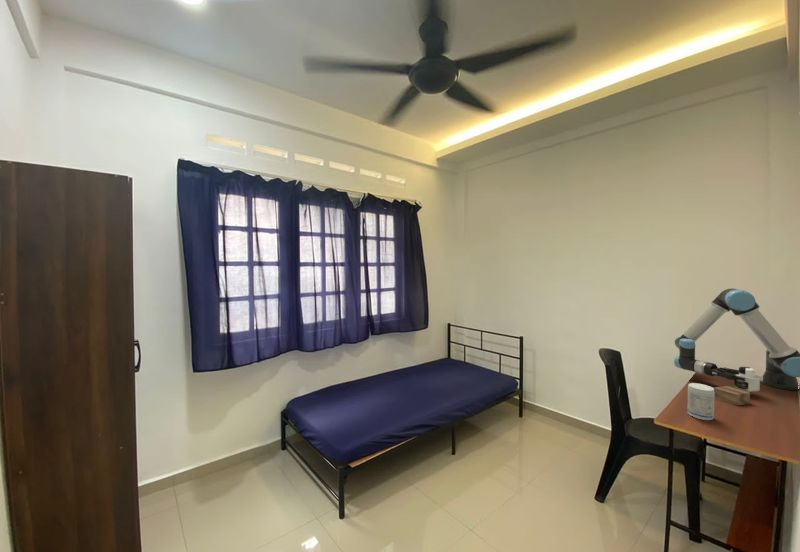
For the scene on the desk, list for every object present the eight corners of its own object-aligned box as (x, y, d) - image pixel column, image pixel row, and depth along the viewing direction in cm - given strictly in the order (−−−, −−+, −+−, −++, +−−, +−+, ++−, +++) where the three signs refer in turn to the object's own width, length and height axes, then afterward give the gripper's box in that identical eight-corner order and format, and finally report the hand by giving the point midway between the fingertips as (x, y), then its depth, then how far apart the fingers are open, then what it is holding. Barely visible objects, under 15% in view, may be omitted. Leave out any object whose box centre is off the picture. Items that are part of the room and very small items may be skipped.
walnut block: (727, 396, 181) (727, 385, 180) (749, 404, 171) (750, 392, 171) (713, 398, 179) (713, 387, 178) (735, 406, 169) (735, 394, 169)
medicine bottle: (733, 386, 185) (733, 366, 184) (745, 386, 185) (745, 365, 185) (748, 391, 177) (748, 370, 177) (759, 391, 178) (760, 369, 178)
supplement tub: (689, 410, 164) (690, 381, 164) (715, 416, 157) (716, 386, 156) (685, 415, 158) (686, 386, 158) (712, 423, 151) (713, 392, 150)
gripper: (715, 371, 202) (767, 383, 181) (696, 377, 194) (748, 390, 173) (715, 359, 202) (767, 370, 181) (696, 364, 193) (748, 376, 173)
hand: (758, 379), depth 177 cm, fingers closed on medicine bottle, 9 cm apart
